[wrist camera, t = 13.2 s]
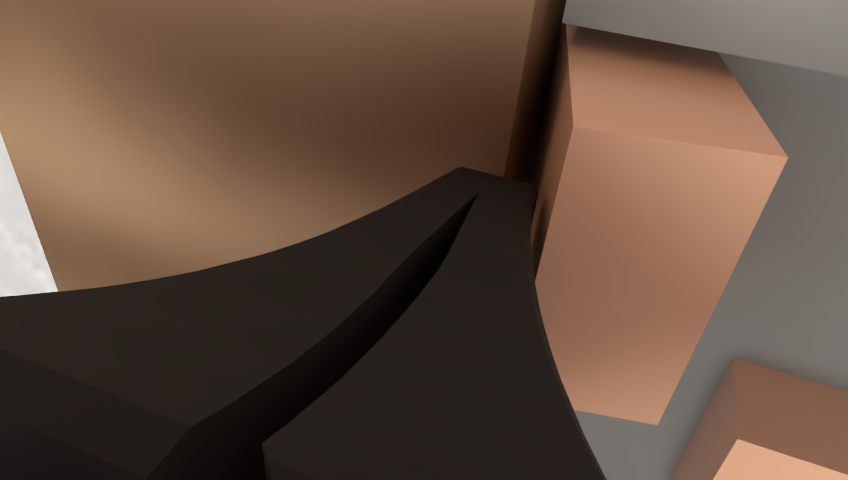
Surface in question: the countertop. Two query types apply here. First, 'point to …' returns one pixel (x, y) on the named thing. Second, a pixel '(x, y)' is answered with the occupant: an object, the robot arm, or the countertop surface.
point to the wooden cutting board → (254, 118)
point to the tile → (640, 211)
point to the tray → (780, 218)
